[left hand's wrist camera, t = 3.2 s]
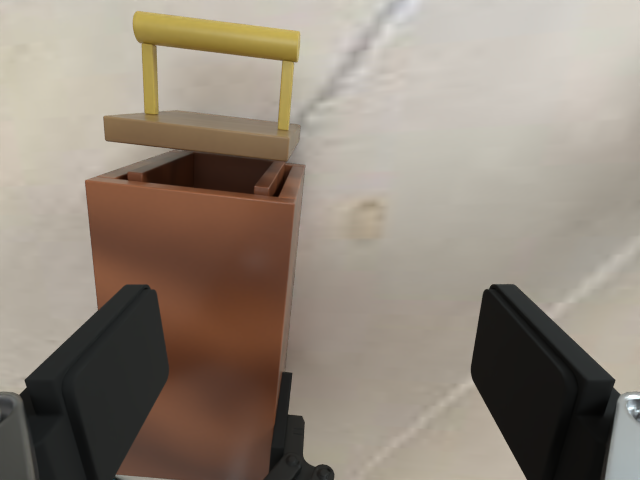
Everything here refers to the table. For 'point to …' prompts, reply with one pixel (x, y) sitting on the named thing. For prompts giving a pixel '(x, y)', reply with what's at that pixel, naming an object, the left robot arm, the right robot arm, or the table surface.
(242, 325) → the wooden storage bin
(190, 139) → the drawer
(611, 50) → the table surface
